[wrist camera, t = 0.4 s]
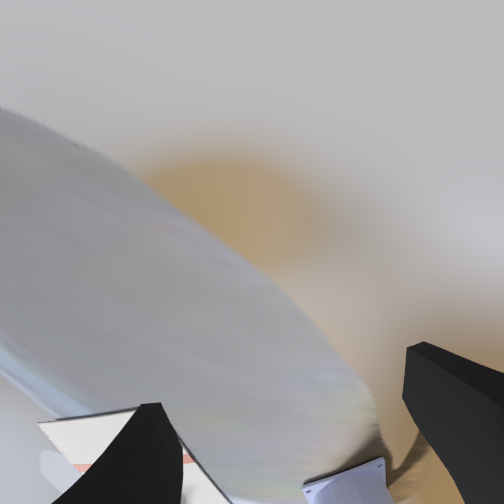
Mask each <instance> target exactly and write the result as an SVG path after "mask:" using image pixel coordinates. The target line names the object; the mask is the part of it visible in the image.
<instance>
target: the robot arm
mask: <svg viewBox="0 0 504 504" xmlns="http://www.w3.org/2000/svg"><path fill="white" fill-rule="evenodd" d="M402 398H403V400H404V402H405V404H406V407H407V408H408V411H409V413H410V414H411V416H412V418H413V420H414V422H415V424H416V425H417V427H418V428H419V430H420V431H421V433H422V434H423V435H424V437H425V438H426V440H427V441H428V443H429V444H430V445H431V447H432V448H433V450H434V451H435V453H436V454H437V455H438V457H439V458H440V460H441V461H442V463H443V464H444V466H445V467H446V468H447V470H448V471H449V473H450V475H451V476H452V478H453V480H454V481H455V484H456V485H457V488H458V490H459V492H460V494H461V496H462V498H463V500H464V502H465V504H504V373H502V372H499V371H496V370H493V369H491V368H488V367H485V366H483V365H480V364H478V363H475V362H473V361H470V360H468V359H466V358H463V357H461V356H458V355H456V354H454V353H451V352H449V351H447V350H444V349H442V348H439V347H437V346H434V345H432V344H429V343H427V342H421V343H419V344H416V345H413V346H410V347H407V352H406V366H405V376H404V386H403V394H402ZM182 486H183V447H182V445H181V443H180V441H179V439H178V437H177V435H176V433H175V431H174V429H173V427H172V425H171V423H170V421H169V419H168V417H167V415H166V413H165V411H164V409H163V406H162V404H161V402H160V403H149V404H141V405H140V406H139V408H138V409H137V410H136V411H135V412H134V414H133V415H132V416H131V418H130V419H129V420H128V421H127V423H126V424H125V425H124V427H123V428H122V429H121V431H120V432H119V433H118V434H117V436H116V437H115V438H114V439H113V441H112V442H111V443H110V444H109V446H108V447H107V448H106V449H105V451H104V452H103V453H102V454H101V455H100V456H99V458H98V459H97V460H96V461H95V462H94V463H93V464H92V465H91V466H90V468H89V469H88V470H87V471H86V472H85V473H84V474H83V475H82V476H81V477H80V478H79V479H78V480H77V481H76V482H75V483H74V484H73V485H72V486H71V487H70V488H69V489H68V490H67V491H66V492H65V493H63V494H62V495H61V496H60V497H59V498H58V499H57V500H55V501H54V502H53V503H52V504H181V495H182ZM302 491H303V493H304V495H305V497H306V499H307V501H308V503H309V504H394V501H393V499H392V497H391V495H390V493H389V491H388V489H387V487H386V472H385V460H384V458H383V457H380V458H377V459H375V460H372V461H370V462H368V463H365V464H363V465H360V466H358V467H355V468H352V469H350V470H347V471H344V472H342V473H339V474H336V475H333V476H330V477H327V478H324V479H321V480H318V481H315V482H312V483H308V484H305V485H303V486H302Z"/></svg>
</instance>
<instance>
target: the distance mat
mask: <svg viewBox="0 0 504 504" xmlns="http://www.w3.org/2000/svg"><path fill="white" fill-rule="evenodd" d="M135 411H136V410H131V411H125V412H119V413H113V414H107V415H100V416H93V417H85V418H77V419H69V420H59V421H49V422H38V425H39V427H40V428H41V429H42V430H43V432H44V433H45V434H46V435H47V436H48V438H49V439H50V440H51V441H52V442H53V443H54V445H55V446H56V447H57V448H58V449H59V450H60V451H61V452H62V454H63V455H64V456H65V457H66V458H67V459H68V460H69V461H70V462H71V463H72V464H73V466H74V467H75V468H76V469H77V470H78V471H79V472H80V473H81V474H82V475H83V474H84V473H85V472H86V471H87V470H88V469H89V468H90V466H91V465H92V464H93V463H94V462H95V461H96V460H97V459H98V458H99V456H100V455H101V454H102V453H103V452H104V451H105V449H106V448H107V447H108V446H109V444H110V443H111V442H112V441H113V439H114V438H115V437H116V436H117V434H118V433H119V432H120V431H121V429H122V428H123V427H124V425H125V424H126V423H127V421H128V420H129V419H130V418H131V416H132V415H133V414H134V412H135ZM179 441H180V440H179ZM180 443H181V442H180ZM181 445H182V447H183V486H182V495H181V504H230V502H229V501H228V500H227V499H226V498H225V497H224V496H223V494H222V493H221V492H220V491H219V490H218V489H217V487H216V486H215V485H214V484H213V483H212V482H211V480H210V479H209V478H208V477H207V475H206V474H205V473H204V472H203V470H202V469H201V468H200V467H199V465H198V464H197V463H196V462H195V460H194V459H193V458H192V456H191V455H190V454H189V452H188V451H187V450H186V448H185V447H184V446H183V444H182V443H181Z"/></svg>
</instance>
